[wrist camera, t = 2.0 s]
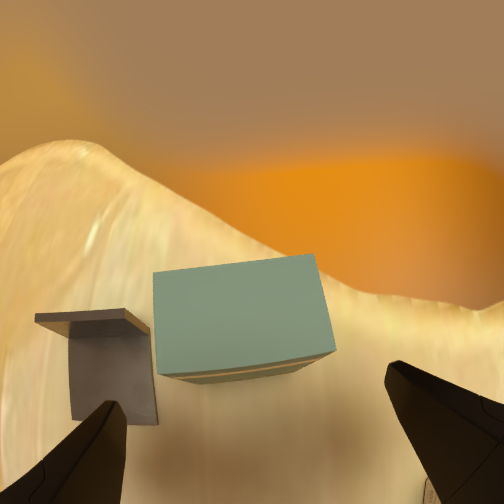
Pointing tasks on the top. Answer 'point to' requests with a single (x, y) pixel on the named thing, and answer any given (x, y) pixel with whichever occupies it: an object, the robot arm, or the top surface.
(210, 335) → the green striped box
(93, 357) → the bookend
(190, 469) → the top surface
